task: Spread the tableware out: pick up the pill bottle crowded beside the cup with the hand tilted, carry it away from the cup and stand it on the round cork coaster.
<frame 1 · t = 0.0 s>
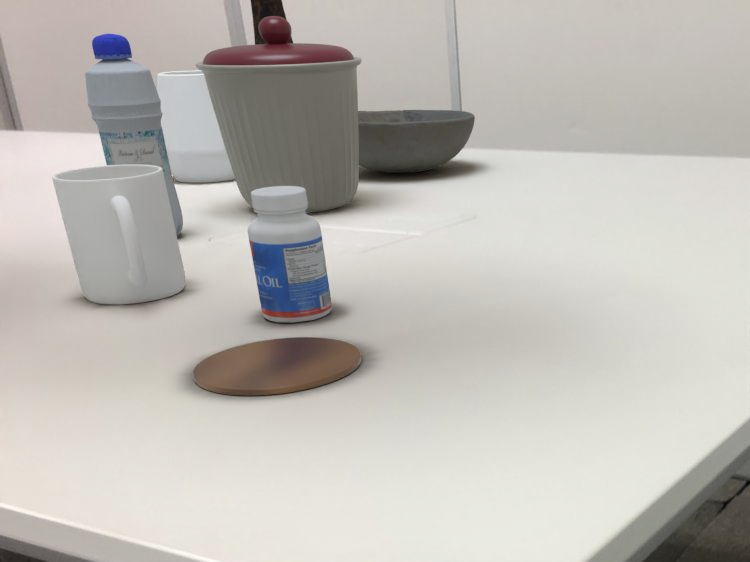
canister: (303, 208, 123), on the table
bottle: (155, 239, 108), on the table
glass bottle: (293, 155, 164), on the table
coaster: (279, 367, 70), on the table
bowl: (404, 173, 146), on the table
cup: (139, 299, 87), on the table
pill bottle: (298, 316, 81), on the table
cup 2: (211, 178, 144), on the table
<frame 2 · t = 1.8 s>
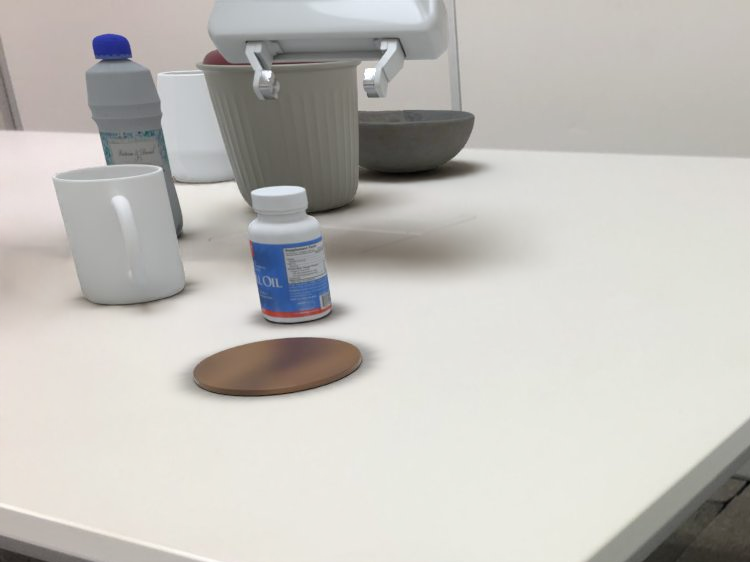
hand: (319, 94, 85), 16 cm above the table, tool tilted 45°, fingers open, 8 cm apart
nothing on the table moved.
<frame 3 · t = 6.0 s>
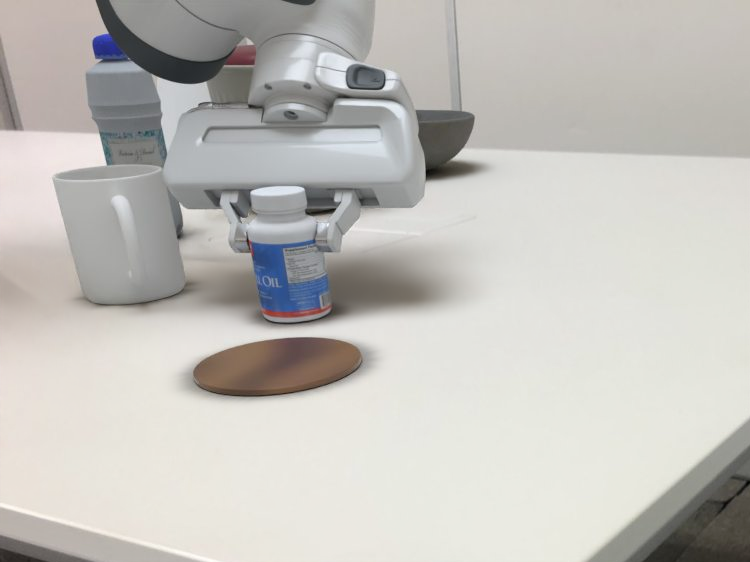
hand: (284, 249, 78), 5 cm above the table, tool tilted 45°, fingers closed on pill bottle, 5 cm apart
pill bottle: (298, 316, 81), on the table, touching gripper
everything else where it was.
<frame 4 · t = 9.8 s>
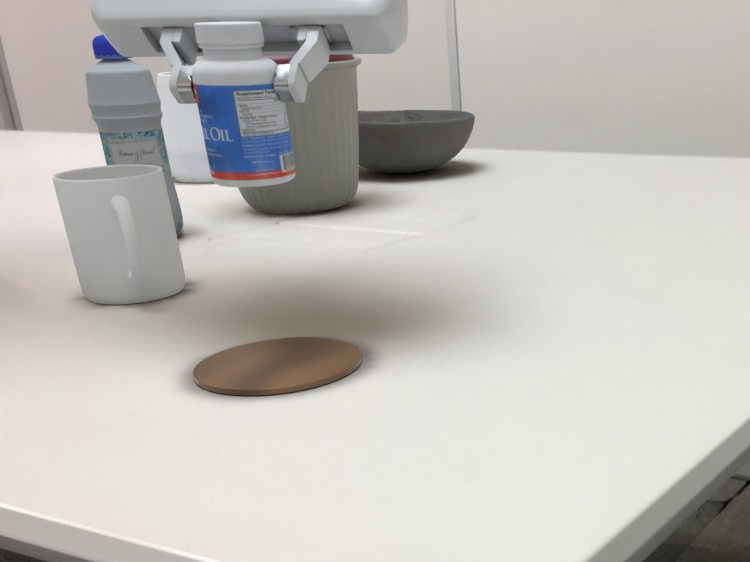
hand: (237, 97, 65), 17 cm above the table, tool tilted 45°, fingers closed on pill bottle, 5 cm apart
pill bottle: (256, 184, 68), point 12 cm above the table, touching gripper
everything else where it was.
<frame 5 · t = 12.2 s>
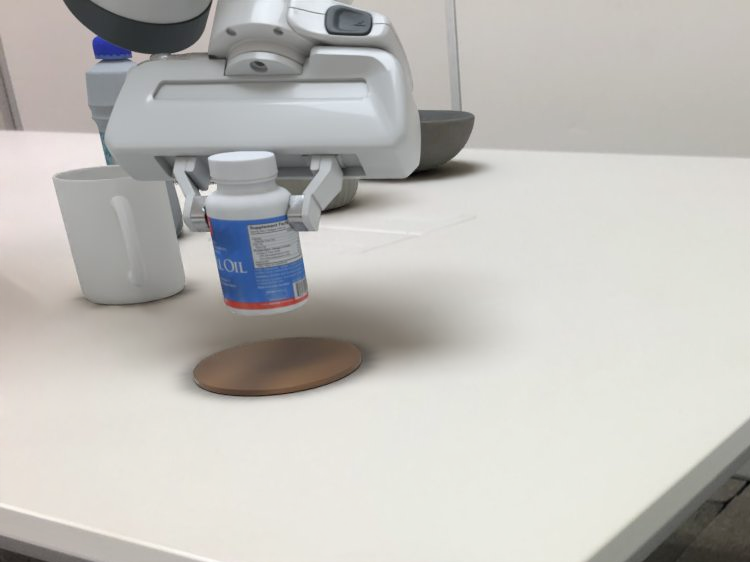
hand: (250, 227, 65), 10 cm above the table, tool tilted 45°, fingers closed on pill bottle, 5 cm apart
pill bottle: (269, 308, 68), point 4 cm above the table, touching gripper
everything else where it was.
when the fingers open (6 cm above the table, at t = 13.8 s): pill bottle stays where it is, resting on coaster.
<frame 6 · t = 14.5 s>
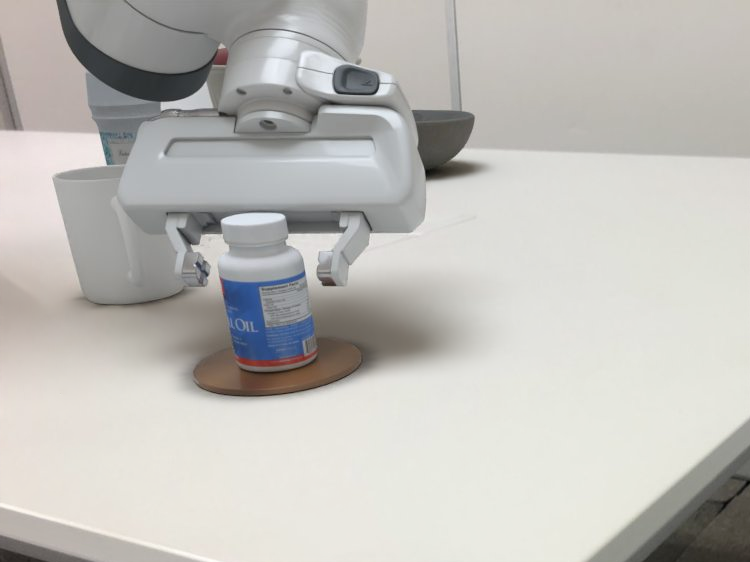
hand: (260, 282, 66), 6 cm above the table, tool tilted 45°, fingers open, 8 cm apart
pill bottle: (278, 363, 70), resting on coaster
everything else where it was.
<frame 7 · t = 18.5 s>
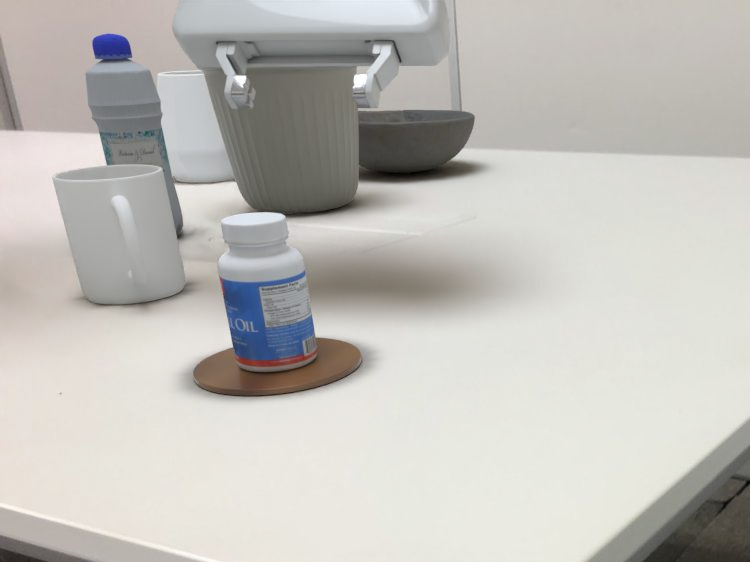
hand: (301, 103, 74), 16 cm above the table, tool tilted 45°, fingers open, 8 cm apart
nothing on the table moved.
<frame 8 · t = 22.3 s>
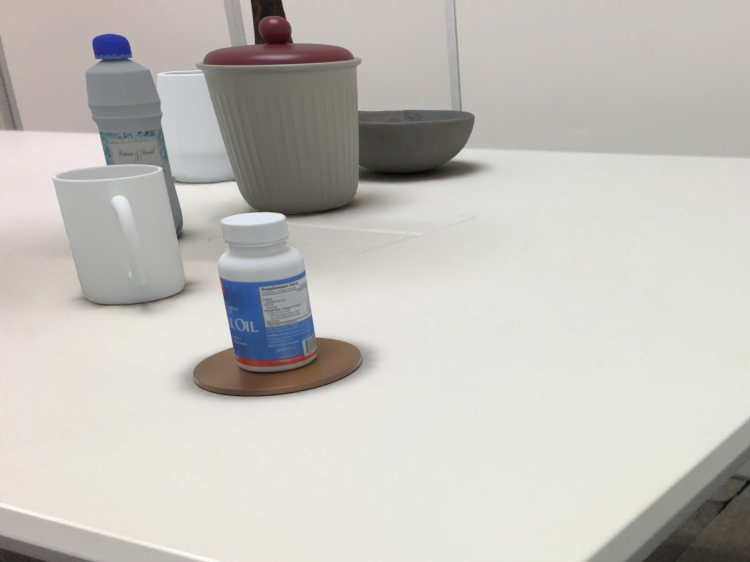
nothing on the table moved.
at the end: pill bottle inside the target area (0.1 cm from its centre), resting on coaster; pill bottle tilted 0°; the gripper is holding nothing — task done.
